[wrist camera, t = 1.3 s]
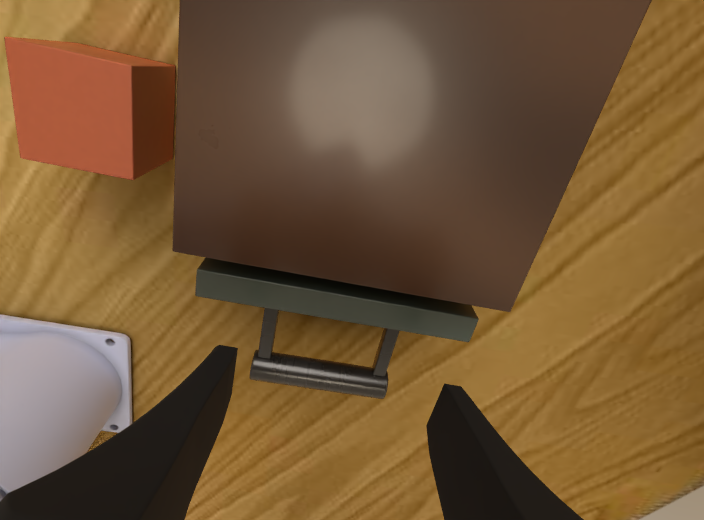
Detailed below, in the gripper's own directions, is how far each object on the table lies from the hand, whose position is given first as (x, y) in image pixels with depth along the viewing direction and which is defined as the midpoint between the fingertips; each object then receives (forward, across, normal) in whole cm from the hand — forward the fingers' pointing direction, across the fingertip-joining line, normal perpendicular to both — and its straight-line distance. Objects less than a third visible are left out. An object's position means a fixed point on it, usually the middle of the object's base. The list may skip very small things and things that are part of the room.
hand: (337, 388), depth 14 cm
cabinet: (+10, 0, -10) cm, 14 cm away
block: (+10, +11, -6) cm, 16 cm away
